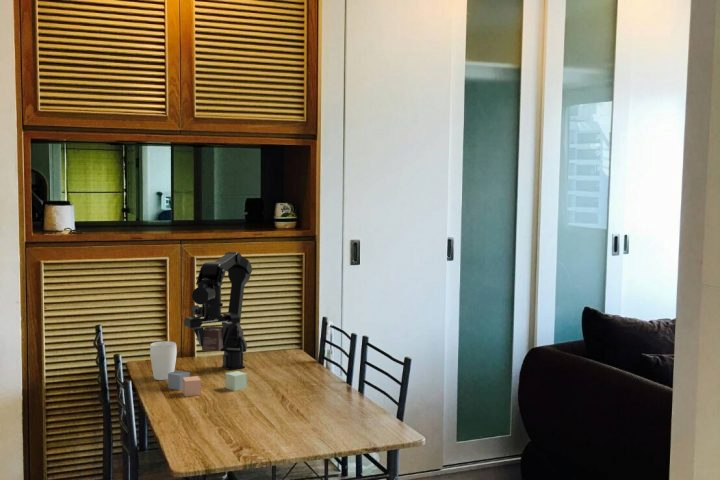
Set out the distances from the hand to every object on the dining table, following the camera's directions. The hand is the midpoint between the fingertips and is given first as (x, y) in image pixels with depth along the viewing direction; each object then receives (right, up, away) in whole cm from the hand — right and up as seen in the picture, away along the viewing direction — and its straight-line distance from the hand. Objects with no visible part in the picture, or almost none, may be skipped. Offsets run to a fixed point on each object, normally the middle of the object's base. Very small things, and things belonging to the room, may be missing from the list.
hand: (212, 344), depth 274 cm
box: (0, -2, 0) cm, 2 cm away
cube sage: (+9, -14, -7) cm, 18 cm away
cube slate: (-10, -13, -8) cm, 18 cm away
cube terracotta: (-4, -14, -15) cm, 21 cm away
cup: (-18, -12, +4) cm, 22 cm away
